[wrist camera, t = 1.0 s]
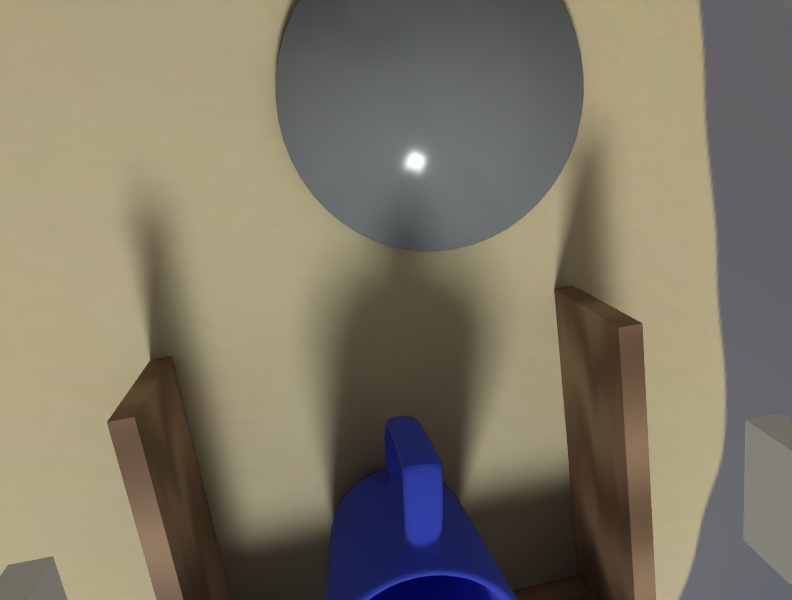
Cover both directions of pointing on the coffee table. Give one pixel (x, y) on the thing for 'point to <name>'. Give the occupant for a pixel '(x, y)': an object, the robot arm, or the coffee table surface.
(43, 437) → the coffee table surface
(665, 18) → the coffee table surface
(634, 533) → the u-shaped wooden frame
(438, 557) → the mug
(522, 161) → the grey round disc
